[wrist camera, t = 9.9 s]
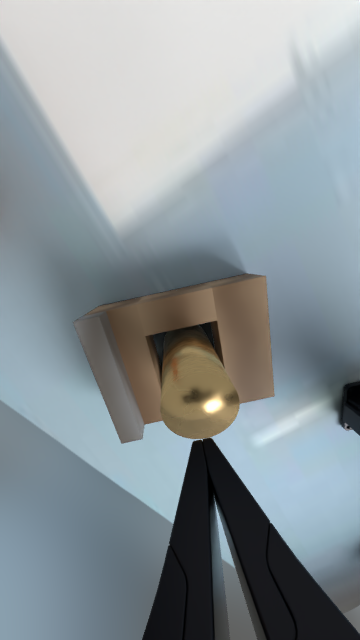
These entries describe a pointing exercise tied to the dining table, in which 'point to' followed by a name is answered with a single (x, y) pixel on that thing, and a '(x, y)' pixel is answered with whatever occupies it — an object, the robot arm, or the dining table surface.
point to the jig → (170, 314)
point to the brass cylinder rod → (195, 386)
